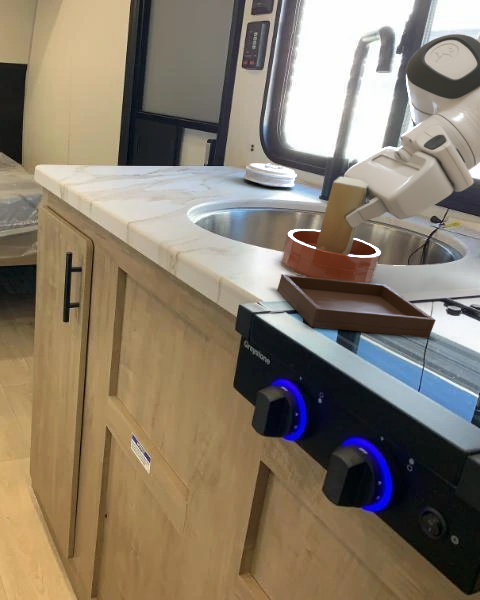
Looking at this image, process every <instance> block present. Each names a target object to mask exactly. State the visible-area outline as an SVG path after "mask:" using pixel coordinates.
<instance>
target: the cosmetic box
mask: <svg viewBox="0 0 480 600" xmlns="http://www.w3.org/2000/svg"><path fill="white" fill-rule="evenodd" d="M367 187H368V184H366V183H365V182H364V181H362V180H358V179H353V178H347V177H344V176H338V177H337V178H336V179H335V180H333V182H332V186H331V190H330V192H329V197H328V200H327V202H328V204H327V203H326V208H325V211H324V215H323V219H322V222H321V225H320V230H319V231H320V233H319V237H318V241H317V244H316V247H315V248H318V249H322V250H326V251H330V252H335V253H340V254H346V255H349V254H350V250H351V247H352V243H353V240H354V238H355V236H356V233H357V231H358V226H359V225H357V226H356V227H351V226H350V225H349V224H348V223H347V222H346V220H345V219H344V215H345V214H346V213H348V212H350V211H351V210H352V209H354V208H355V209H356V210H357V209H358V208H360V207H362V206H364V205H365V204H366V200H367V199H366V197H367V193H368V191H367Z"/></svg>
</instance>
